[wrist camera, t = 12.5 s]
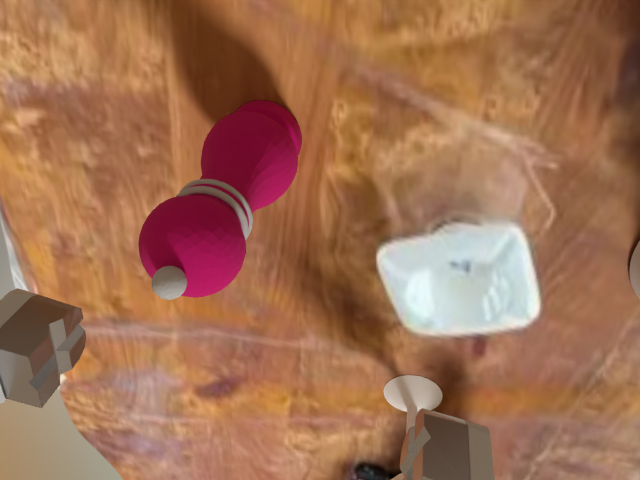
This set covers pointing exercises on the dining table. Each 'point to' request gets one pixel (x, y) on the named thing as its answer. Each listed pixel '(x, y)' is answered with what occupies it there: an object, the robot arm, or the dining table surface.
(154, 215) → the pepper mill
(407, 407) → the champagne flute
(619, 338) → the dining table surface
